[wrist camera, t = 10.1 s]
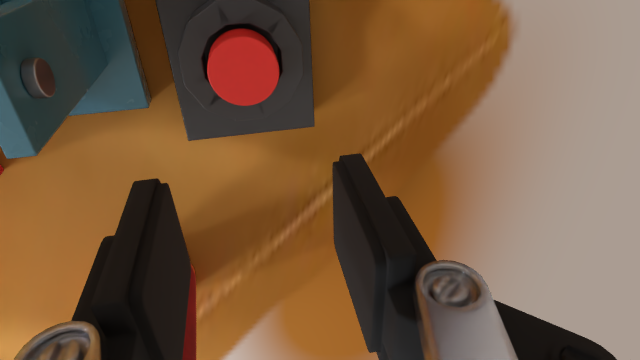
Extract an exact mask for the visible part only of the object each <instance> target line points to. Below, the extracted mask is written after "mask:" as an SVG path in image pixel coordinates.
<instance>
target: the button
mask: <svg viewBox="0 0 640 360" xmlns="http://www.w3.org/2000/svg"><path fill="white" fill-rule="evenodd" d="M207 74H208V79H209V82H210V84H211V86H212V88H213V89H214V91H215V92H216V93H217V94H218V95H219V96H220V97H221V98H222V99H224V100H225V101H227V102H229V103H232V104H235V105H241V106H249V105H254V104H257V103H260V102H262V101H263V100H265V99H266V98H268V97H269V96H270V95H271V94H272V92H273V91H274V89H275V88H276V86H277V83H278V80H279V64H278V61H277V58H276V55H275V52H274V50H273V47H272V46H271V44H270V43H269V41H268V40H267V39H266V38H265V37H264V36H262V35H261V34H259V33H258V32H256V31H253V30H250V29H245V28H237V29H232V30H229V31H226V32H224V33H223V34H221V35H220V36H219V37H218V38H217V39H216V40H215V41H214V43H213V44H212V46H211V48H210V52H209V57H208V64H207Z"/></svg>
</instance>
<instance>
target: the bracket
mask: <svg viewBox="0 0 640 360" xmlns="http://www.w3.org/2000/svg"><path fill="white" fill-rule="evenodd" d="M150 103H151V97H150V93H149V90H148V86H147V82H146V79H145V75H144V71H143V68H142V64H141V60H140V57H139V53H138V49H137V46H136V42H135V38H134V35H133V31H132V27H131V24H130V20H129V16H128V13H127V9H126V5H125V2H124V0H0V146H1V148H2V150H3V152H4V154H5V156H6V158H7V159H11V158H19V157H28V156H36V155H38V153H39V152H40V151H41V150H42V148H43V147H44V146H45V144H46V143H47V142H48V141H49V139H50V138H51V137H52V136H53V134H54V133H55V132H56V130H57V129H58V128H59V127H60V125H61V124H62V123H63V122H64V120H65V119H66V118H67V116H72V115H82V114H92V113H102V112H112V111H122V110H132V109H142V108H149V105H150Z"/></svg>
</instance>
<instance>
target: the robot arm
mask: <svg viewBox="0 0 640 360" xmlns="http://www.w3.org/2000/svg"><path fill="white" fill-rule="evenodd" d="M333 220H334V244H335V249H336V252H337V256H338V259H339V262H340V265H341V268H342V271H343V274H344V277H345V280H346V284H347V287H348V289H349V293H350V296H351V299H352V302H353V305H354V308H355V311H356V314H357V318H358V321H359V324H360V327H361V330H362V333H363V336H364V339H365V342H366V346H367V348H368V351H369V352H370V353H371V352H377V355H378V358H379V360H617V359H616V358H615V357H614V356H613V355H612V354H611V353H609V352H608V351H607V350H606V349H604V348H603V347H602V346H601V345H599V344H597V343H595V342H593V341H591V340H589V339H587V338H585V337H582V336H580V335H577V334H575V333H573V332H570V331H568V330H565V329H563V328H560V327H558V326H556V325H553V324H551V323H549V322H546V321H544V320H541V319H539V318H537V317H534V316H532V315H529V314H527V313H525V312H522V311H519V310H517V309H515V308H512V307H510V306H508V305H505V304H503V303H500V302H498V301H496V300H493V298H492V295H491V293H490V291H489V288H488V286H487V284H486V283H485V281H484V279H483V278H482V276H481V275H479V274H478V273H477V272H476V271H475V270H473V269H472V268H470V267H468V266H466V265H465V264H462V263H458V262H455V261H448V260H439V261H437V260H436V259H435V257H434V255H433V254H432V252H431V251H430V249H429V247H428V246H427V244H426V242H425V241H424V239H423V237H422V236H421V234H420V232H419V231H418V229H417V227H416V226H415V224H414V222H413V221H412V219H411V218H410V216H409V214H408V212H407V211H406V209H405V208H404V206H403V204H402V202H401V201H400V200H399V198H398V197H396V196H392V197H385V196H384V194H383V192H382V190H381V188H380V187H379V185H378V183H377V181H376V179H375V178H374V176H373V174H372V172H371V171H370V169H369V167H368V165H367V163H366V162H365V160H364V158H363V156H362V155H361V154H360V153H359V154H351V155H343V156H340V158H339V161H338V162H333ZM190 279H191V263H190V258H189V255H188V251H187V248H186V244H185V241H184V237H183V234H182V230H181V227H180V223H179V220H178V216H177V212H176V209H175V205H174V202H173V198H172V195H171V191H170V188H169V185H168V184H167V183H162V184H161V183H160V181H159V179H158V178H157V179H149V180H141V181H135V182H134V183H133V185H132V188H131V190H130V193H129V196H128V199H127V202H126V205H125V208H124V211H123V213H122V216H121V219H120V222H119V225H118V228H117V231H116V233H115V235H114V236H107V237H105V238H104V239H103V241H102V242H101V245H100V247H99V250H98V252H97V255H96V258H95V260H94V263H93V266H92V268H91V271H90V273H89V276H88V279H87V281H86V284H85V286H84V289H83V292H82V294H81V297H80V299H79V302H78V305H77V307H76V310H75V313H74V315H73V318H72V320H71V321H69V322H65V323H60V324H57V325H55V326H53V327H50V328H48V329H46V330H44V331H43V332H41V333H39V334H38V335H36V336H35V337H33V338H32V339H31V340H30V341H29V342H28V343H27V344H26V345H24V346H23V347H22V349H21V350H20V351H19V353H18V354H17V355H16V357H15V358H14V360H182V359H183V349H184V339H185V329H186V319H187V309H188V299H189V289H190Z"/></svg>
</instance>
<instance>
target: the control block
mask: <svg viewBox="0 0 640 360" xmlns="http://www.w3.org/2000/svg"><path fill="white" fill-rule="evenodd" d="M155 1H156V5H157V9H158V14H159V18H160V22H161V26H162V31H163V35H164V39H165V44H166V48H167V52H168V56H169V61H170V65H171V69H172V73H173V78H174V82H175V86H176V90H177V95H178V99H179V103H180V108H181V112H182V116H183V120H184V125H185V129H186V133H187V137H188V141H191V140H200V139H209V138H217V137H226V136H235V135H244V134H253V133H262V132H271V131H280V130H288V129H297V128H306V127H314V126H315V125H314V102H313V79H312V56H311V33H310V11H309V0H155ZM237 28H245V29H250V30H253V31H256V32H258V33H259V34H261V35H262V36H264V37H265V38H266V39H267V40H268V41H269V43H270V44H271V46H272V47H273V50H274V52H275V55H276V58H277V61H278V64H279V80H278V83H277V86H276V88H275V89H274V91H273V92H272V94H271V95H270V96H269V97H268V98H266V99H265V100H263V101H262V102H260V103H257V104H254V105H249V106H241V105H235V104H232V103H229V102H227V101H225V100H224V99H222V98H221V97H220V96H219V95H218V94H217V93H216V92H215V91H214V89H213V88H212V86H211V84H210V82H209V79H208V74H207V64H208V57H209V52H210V48H211V46H212V44H213V43H214V41H215V40H216V39H217V38H218V37H219V36H220V35H221V34H223V33H224V32H226V31H229V30H232V29H237Z"/></svg>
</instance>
